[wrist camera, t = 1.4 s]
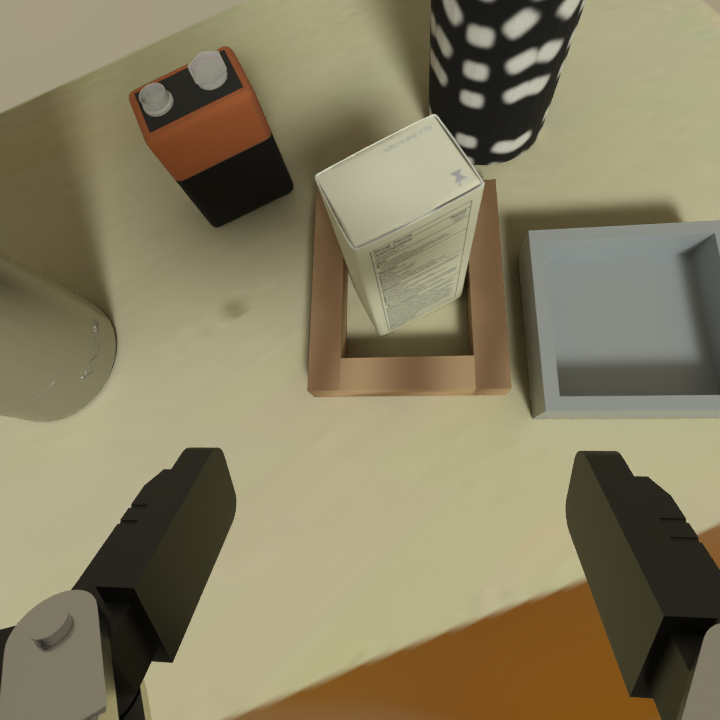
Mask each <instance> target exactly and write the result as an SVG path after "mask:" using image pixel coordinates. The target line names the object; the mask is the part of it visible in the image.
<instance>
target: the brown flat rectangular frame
mask: <svg viewBox="0 0 720 720" xmlns="http://www.w3.org/2000/svg"><path fill="white" fill-rule="evenodd" d="M483 181H484V183H485V185H484V190H483V194H482V199H481V204H480V208H479V213H478V218H477V223H476V228H475V232H474V237H473V242H472V246H471V251H470V256H469V261H468V266H467V270H466V291H467V310H468V329H469V348H470V356H424V357H376V358H346V334H347V291H348V268H347V265H346V262H345V259H344V257H343V254H342V251H341V248H340V246H339V243H338V240H337V237H336V235H335V232H334V229H333V227H332V224H331V221H330V219H329V216H328V213H327V210H326V207H325V205H324V202H323V199H322V197H321V194H320V191H317V192H316V213H315V235H314V257H313V279H312V301H311V323H310V345H309V366H308V388H307V391H308V392H310V393H311V394H312V395H313V396H314V397H340V396H439V395H505V394H506V393H507V392H508V391H509V390H510V389H511V375H510V362H509V349H508V336H507V323H506V310H505V297H504V284H503V271H502V258H501V245H500V232H499V219H498V206H497V193H496V180H495V179H493V180H483Z"/></svg>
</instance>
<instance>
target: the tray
mask: <svg viewBox="0 0 720 720" xmlns="http://www.w3.org/2000/svg"><path fill="white" fill-rule="evenodd" d="M518 259H519V270H520V282H521V293H522V305H523V316H524V327H525V339H526V350H527V361H528V373H529V384H530V396H531V407H532V418H533V419H677V418H720V220H717V221H698V222H679V223H661V224H642V225H624V226H605V227H586V228H568V229H549V230H530V231H528V233H527V235H526V238H525V240H524V242H523V245H522V247H521V249H520V252H519V254H518Z"/></svg>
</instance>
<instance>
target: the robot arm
mask: <svg viewBox="0 0 720 720" xmlns="http://www.w3.org/2000/svg"><path fill="white" fill-rule="evenodd" d="M115 352H116V339H115V333H114V329H113V327H112V324H111V322H110V320H109V318H108V317H107V316H106V314H105V313H104V312H103V311H102V310H101V309H100V308H98V307H97V306H96V305H95V304H93V303H91V302H89V301H87V300H86V299H84V298H82V297H80V296H79V295H77V294H75V293H73V292H71V291H70V290H68V289H66V288H64V287H62V286H61V285H59V284H57V283H55V282H54V281H52V280H50V279H48V278H47V277H45V276H43V275H41V274H40V273H38V272H36V271H34V270H32V269H31V268H29V267H27V266H25V265H23V264H22V263H20V262H18V261H16V260H14V259H13V258H11V257H9V256H7V255H5V254H4V253H2V252H0V415H1V416H7V417H13V418H19V419H25V420H31V421H48V422H49V421H53V420H58V419H62V418H64V417H67V416H69V415H71V414H73V413H75V412H77V411H78V410H80V409H81V408H83V407H84V406H86V405H87V404H88V403H89V402H90V401H91V400H92V399H93V398H94V397H95V396H96V395H97V394H98V392H99V391H100V390H101V388H102V387H103V385H104V384H105V383H106V381H107V378H108V376H109V374H110V372H111V370H112V367H113V363H114V359H115ZM131 505H132V506H131V508H128V510H127V511H126V513H125V514H124V515H123V517H122V518H121V522H120V524H117V526H116V527H115V528H114V530H113V531H112V533H111V534H110V536H109V537H108V538H107V540H106V541H105V543H104V544H103V546H102V547H101V548H100V550H99V551H98V553H97V554H96V556H95V557H94V558H93V560H92V561H91V563H90V564H89V566H88V567H87V569H86V570H85V571H84V573H83V574H82V576H81V577H80V579H79V580H78V581H77V583H76V584H75V586H74V587H73V588H72V589H71V590H70V591H65V592H62V593H59V594H56V595H54V596H52V597H50V598H48V599H46V600H44V601H43V602H41V603H40V604H38V605H37V606H35V607H34V608H33V609H32V610H30V611H29V612H28V613H27V614H26V615H25V616H24V617H23V618H22V619H21V620H20V621H19V622H18V624H17V625H16V626H13V627H9V628H5V629H1V630H0V720H152V719H151V713H150V707H149V701H148V695H147V689H146V685H145V682H144V680H143V679H144V677H145V674H146V672H147V670H148V668H149V666H150V664H151V662H152V661H155V662H170V663H173V660H174V658H175V656H176V653H177V651H178V649H179V646H180V644H181V642H182V639H183V637H184V635H185V632H186V630H187V628H188V625H189V623H190V621H191V618H192V616H193V614H194V611H195V609H196V607H197V604H198V602H199V600H200V597H201V595H202V593H203V590H204V588H205V585H206V583H207V581H208V578H209V576H210V574H211V571H212V569H213V567H214V564H215V562H216V560H217V557H218V555H219V553H220V550H221V548H222V546H223V543H224V541H225V539H226V536H227V534H228V532H229V529H230V527H231V525H232V522H233V520H234V516H235V511H236V494H235V490H234V487H233V484H232V480H231V477H230V473H229V470H228V467H227V463H226V460H225V456H224V453H223V451H222V450H221V449H220V448H186V449H185V450H184V451H183V452H182V454H181V455H180V457H179V458H178V460H177V461H176V463H175V464H174V466H173V467H172V469H164V470H163V471H161V472H160V473H159V474H158V475H157V476H155V477H154V478H153V479H152V480H150V481H149V482H148V483H147V484H146V485H144V487H143V488H142V490H141V491H140V493H139V494H138V495H137V497H136V498H135V500H134V501H133V503H132V504H131ZM566 519H567V525H568V529H569V532H570V535H571V538H572V540H573V543H574V546H575V549H576V551H577V554H578V557H579V559H580V562H581V565H582V568H583V570H584V573H585V576H586V579H587V581H588V584H589V587H590V589H591V592H592V595H593V598H594V600H595V603H596V606H597V609H598V611H599V614H600V617H601V619H602V622H603V625H604V628H605V630H606V633H607V636H608V638H609V641H610V644H611V647H612V649H613V652H614V655H615V658H616V660H617V663H618V666H619V669H620V671H621V674H622V677H623V680H624V682H625V685H626V688H627V691H628V693H629V696H630V697H640V698H653V699H654V702H655V704H656V707H657V709H658V712H659V714H660V717H661V720H720V570H719V568H718V567H717V565H716V564H715V562H714V560H713V559H712V558H711V556H710V555H709V553H708V551H707V550H706V548H705V547H704V545H703V544H702V543H700V542H699V540H698V536H697V535H696V533H695V532H694V530H693V529H692V527H691V525H690V524H689V523H686V518H685V516H684V515H683V513H682V512H681V510H680V509H679V507H678V506H677V504H676V503H675V501H674V500H673V498H672V497H671V495H669V494H668V493H667V492H666V491H664V490H663V489H662V488H661V487H660V486H658V485H657V484H656V483H655V482H654V481H652V480H651V479H650V478H649V477H640V476H633V474H632V472H631V471H630V469H629V467H628V466H627V464H626V462H625V460H624V459H623V457H622V456H621V454H620V453H618V452H617V451H578V452H577V454H576V456H575V459H574V464H573V469H572V474H571V479H570V484H569V489H568V494H567V499H566Z"/></svg>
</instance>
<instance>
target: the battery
mask: <svg viewBox="0 0 720 720" xmlns="http://www.w3.org/2000/svg"><path fill="white" fill-rule="evenodd" d="M129 101H130V104H131V106H132V109H133V111H134V114H135V116H136V119H137V121H138V124H139V126H140V129H141V131H142V134H143V136H144V139H145V141H146V143H147V145H148V146H149V148H150V149H151V150H152V152H153V153H154V154H155V155H156V157H157V158H158V159H159V160H160V162H161V163H162V164H163V165H164V167H165V168H166V169H167V170H168V171H169V173H170V174H171V175H172V176H173V178H174V179H175V180H176V181H177V183H178V184H179V185H180V186H181V188H182V189H183V190H184V191H185V193H186V194H187V195H188V196H189V198H190V199H191V200H192V201H193V203H194V204H195V205H196V206H197V208H198V209H199V210H200V211H201V213H202V214H203V215H204V216H205V218H206V219H207V220H208V221H209V223H210V224H211V225H212V226H213V227H220V226H222V225H224V224H227V223H229V222H231V221H233V220H235V219H237V218H239V217H241V216H243V215H245V214H247V213H249V212H251V211H253V210H255V209H257V208H259V207H261V206H263V205H265V204H267V203H269V202H271V201H273V200H275V199H277V198H279V197H281V196H283V195H285V194H287V193H289V192H291V191H292V190H293V183H292V180H291V178H290V175H289V173H288V171H287V168H286V166H285V163H284V161H283V159H282V156H281V154H280V152H279V149H278V147H277V144H276V142H275V140H274V137H273V135H272V133H271V130H270V128H269V125H268V123H267V121H266V118H265V116H264V113H263V111H262V109H261V106H260V104H259V102H258V99H257V97H256V94H255V92H254V90H253V88H252V86H251V84H250V82H249V80H248V79H247V77H246V75H245V73H244V71H243V69H242V67H241V65H240V63H239V61H238V59H237V58H236V56H235V54H234V52H233V50H232V49H231V48H229V47H222V48H219V49H217V50H215V51H205V52H199V53H198V54H197V55H196V56H195V58H194V59H193V60H192V61H191V62H190V63H189V64H187V65H185V66H183V67H181V68H179V69H176V70H174V71H172V72H170V73H168V74H166V75H164V76H162V77H160V78H158V79H156V80H154V81H152V82H150V83H148V84H146V85H144V86H142V87H140V88H138V89H136V90H134V91H132V92H131V93H130V95H129Z"/></svg>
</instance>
